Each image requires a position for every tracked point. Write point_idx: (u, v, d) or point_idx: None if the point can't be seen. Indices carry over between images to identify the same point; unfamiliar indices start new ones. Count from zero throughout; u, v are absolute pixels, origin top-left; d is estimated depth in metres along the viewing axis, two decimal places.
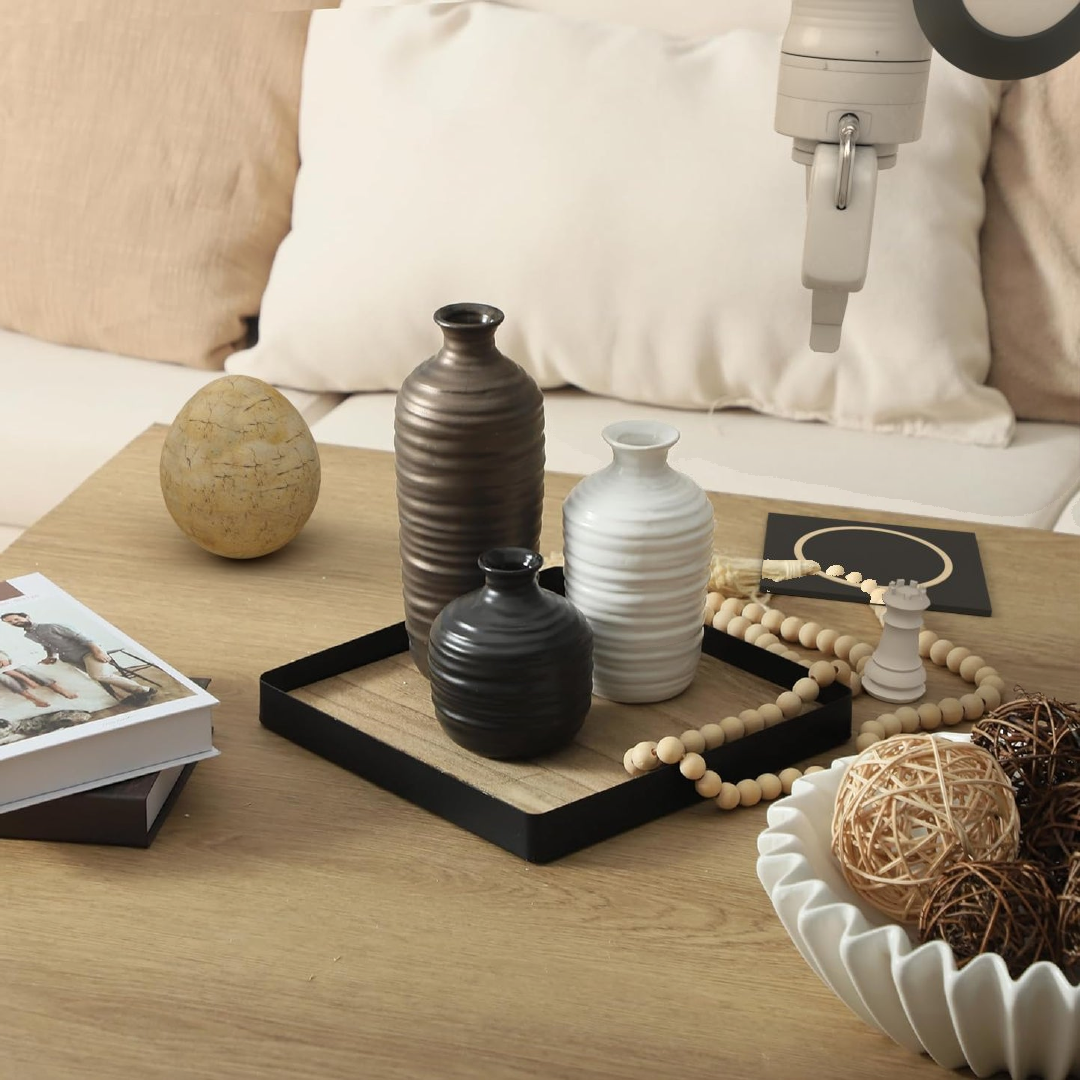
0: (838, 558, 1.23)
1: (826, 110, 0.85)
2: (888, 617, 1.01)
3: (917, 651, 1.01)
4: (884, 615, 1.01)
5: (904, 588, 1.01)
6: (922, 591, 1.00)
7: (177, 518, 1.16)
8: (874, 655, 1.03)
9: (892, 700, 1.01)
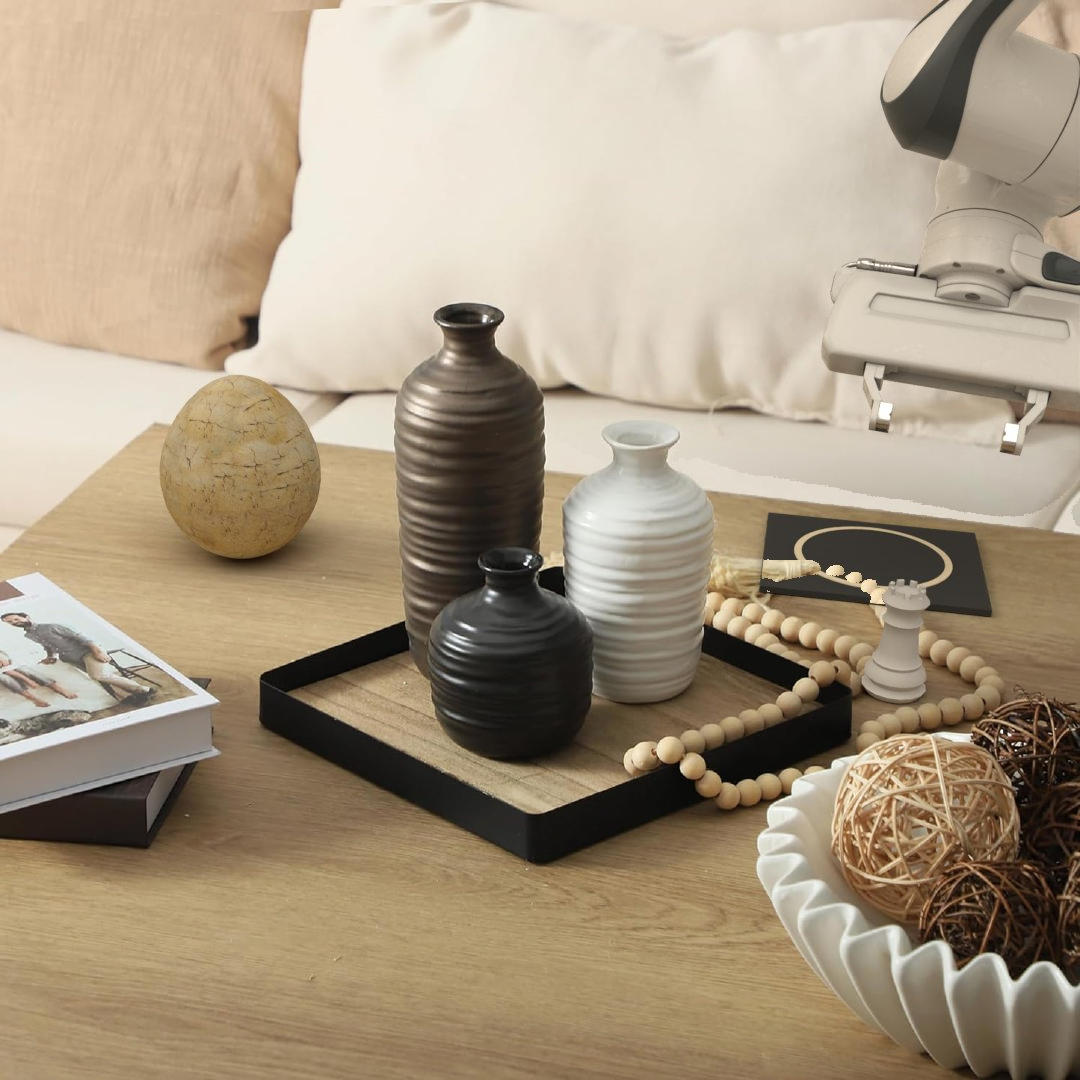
0: (838, 558, 1.23)
1: None
2: (888, 617, 1.01)
3: (917, 651, 1.01)
4: (884, 615, 1.01)
5: (904, 588, 1.01)
6: (922, 591, 1.00)
7: (177, 518, 1.16)
8: (874, 655, 1.03)
9: (892, 700, 1.01)
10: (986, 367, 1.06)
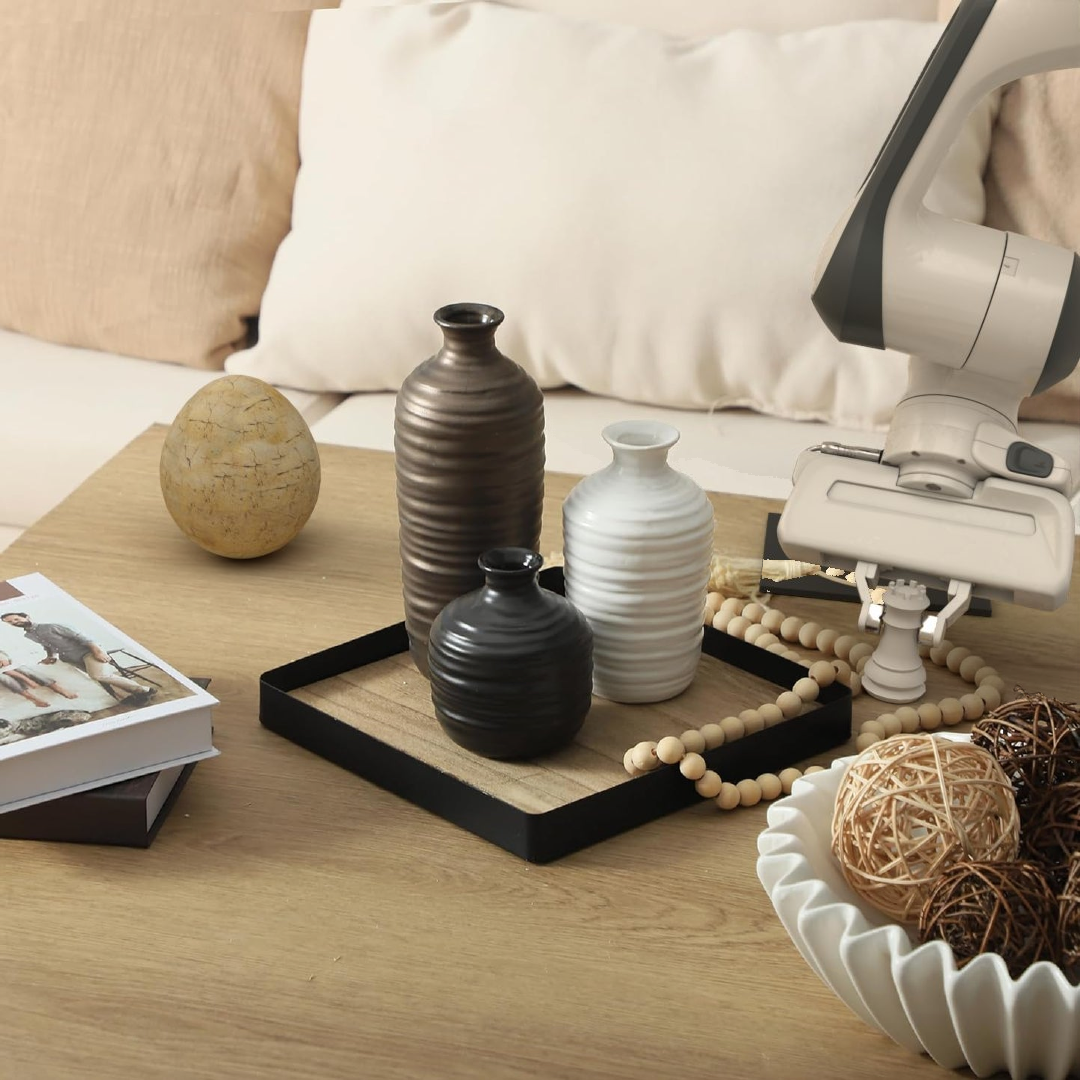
0: None
1: None
2: (888, 617, 1.01)
3: (917, 651, 1.01)
4: (884, 615, 1.01)
5: (904, 588, 1.01)
6: (922, 591, 1.00)
7: (177, 518, 1.16)
8: (874, 655, 1.03)
9: (892, 700, 1.01)
10: (944, 563, 1.01)
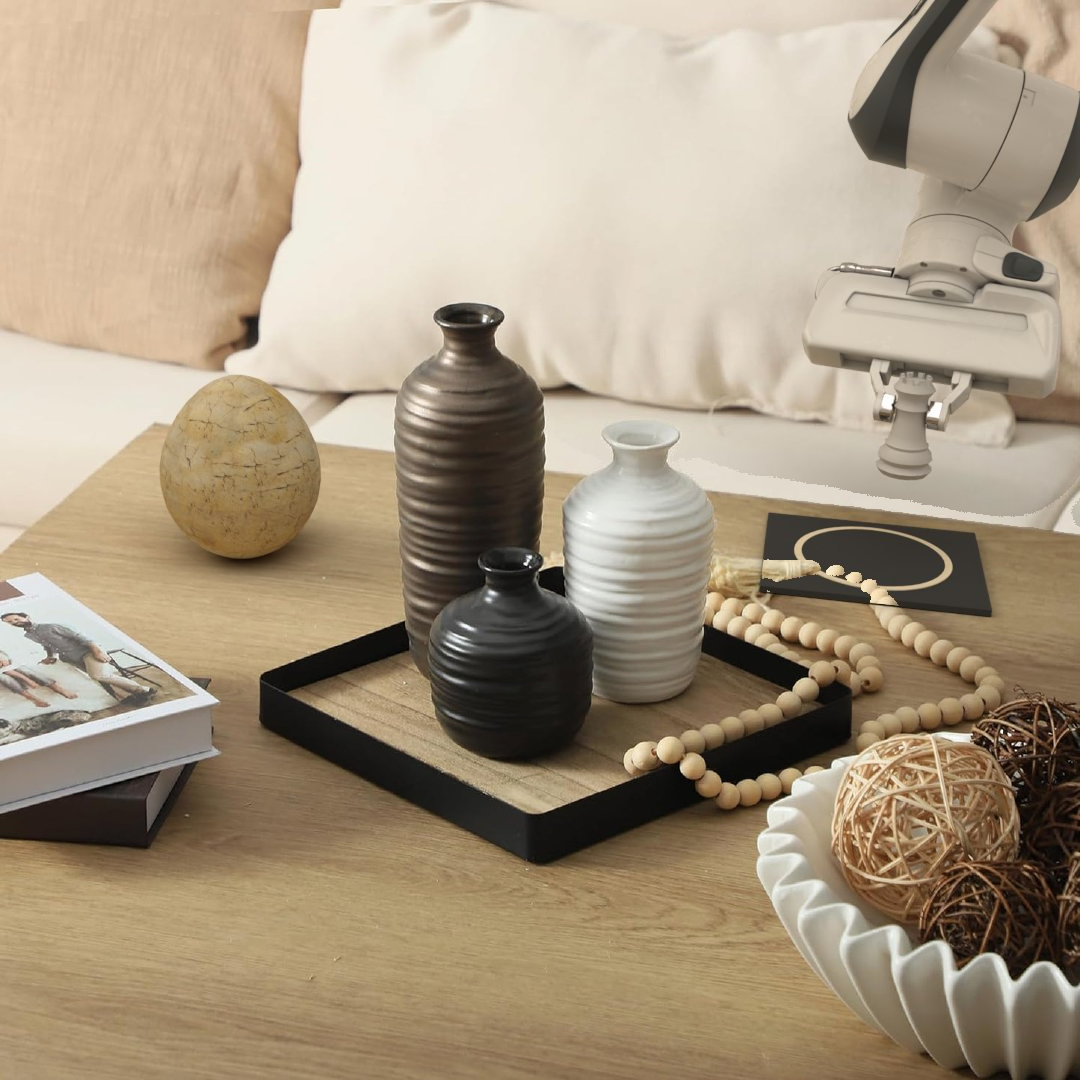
0: (838, 558, 1.23)
1: None
2: (899, 403, 1.16)
3: (924, 434, 1.17)
4: (896, 403, 1.17)
5: (913, 378, 1.16)
6: (929, 379, 1.15)
7: (177, 518, 1.16)
8: (887, 440, 1.18)
9: (902, 477, 1.17)
10: (948, 356, 1.16)
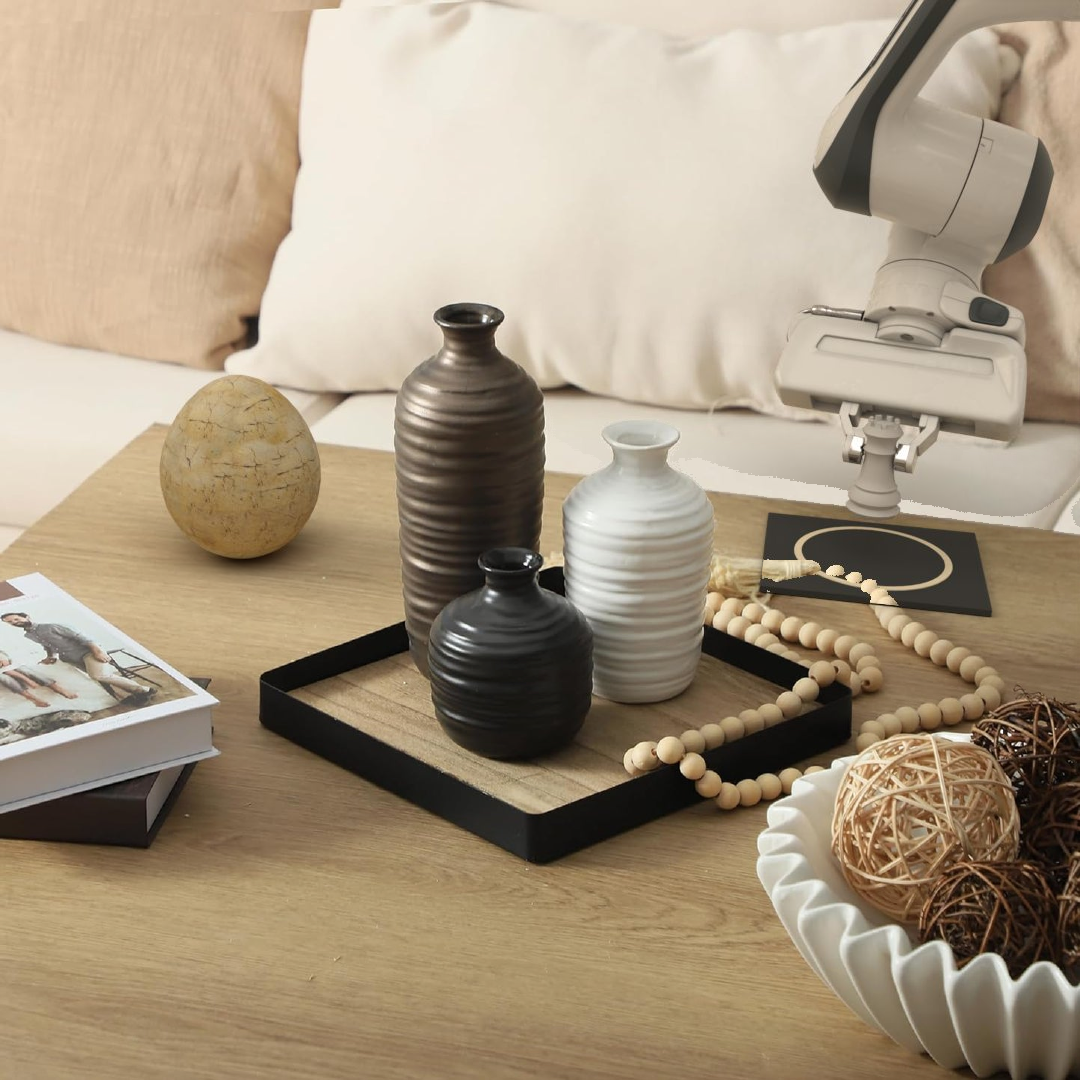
0: (838, 558, 1.23)
1: None
2: (868, 446, 1.18)
3: (893, 476, 1.19)
4: (864, 445, 1.19)
5: (881, 421, 1.18)
6: (896, 422, 1.17)
7: (177, 518, 1.16)
8: (856, 481, 1.20)
9: (871, 518, 1.19)
10: (916, 400, 1.18)
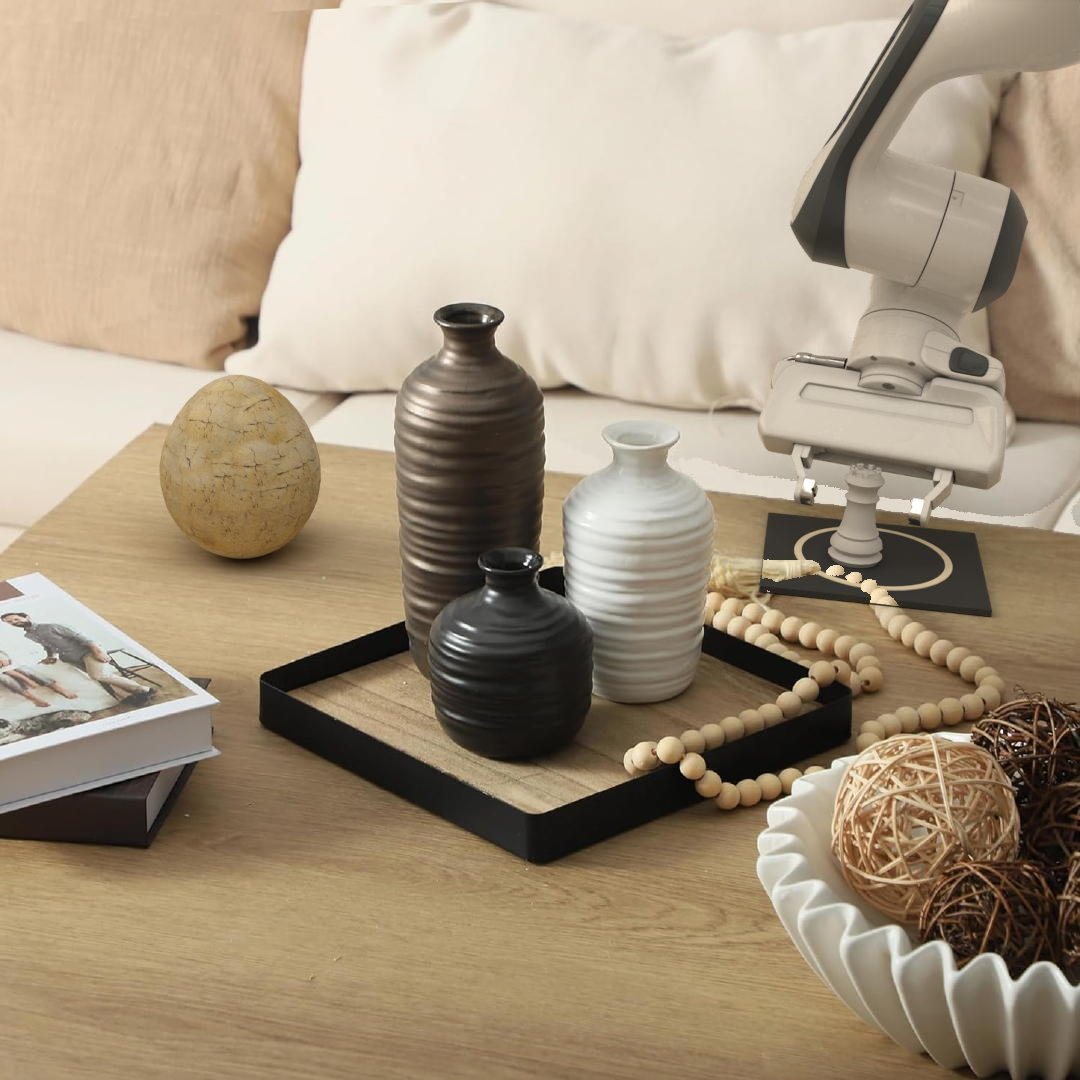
0: None
1: None
2: (849, 495, 1.20)
3: (874, 524, 1.21)
4: (846, 494, 1.20)
5: (863, 470, 1.20)
6: (878, 472, 1.19)
7: (177, 518, 1.16)
8: (838, 528, 1.22)
9: (853, 565, 1.21)
10: (897, 448, 1.20)
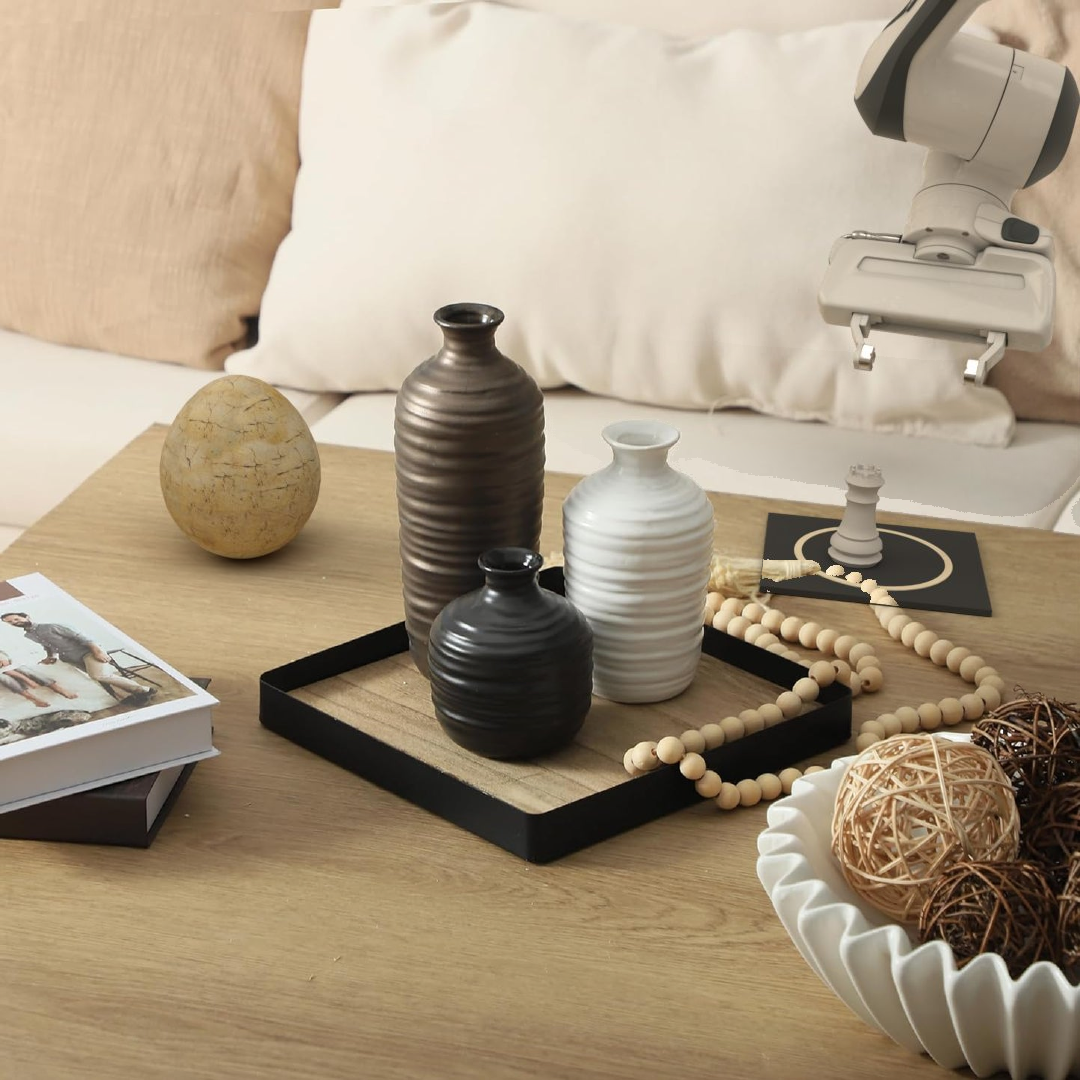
0: None
1: None
2: (849, 495, 1.20)
3: (874, 524, 1.21)
4: (846, 494, 1.20)
5: (863, 470, 1.20)
6: (878, 472, 1.19)
7: (177, 518, 1.16)
8: (838, 528, 1.22)
9: (853, 565, 1.21)
10: (952, 313, 1.26)
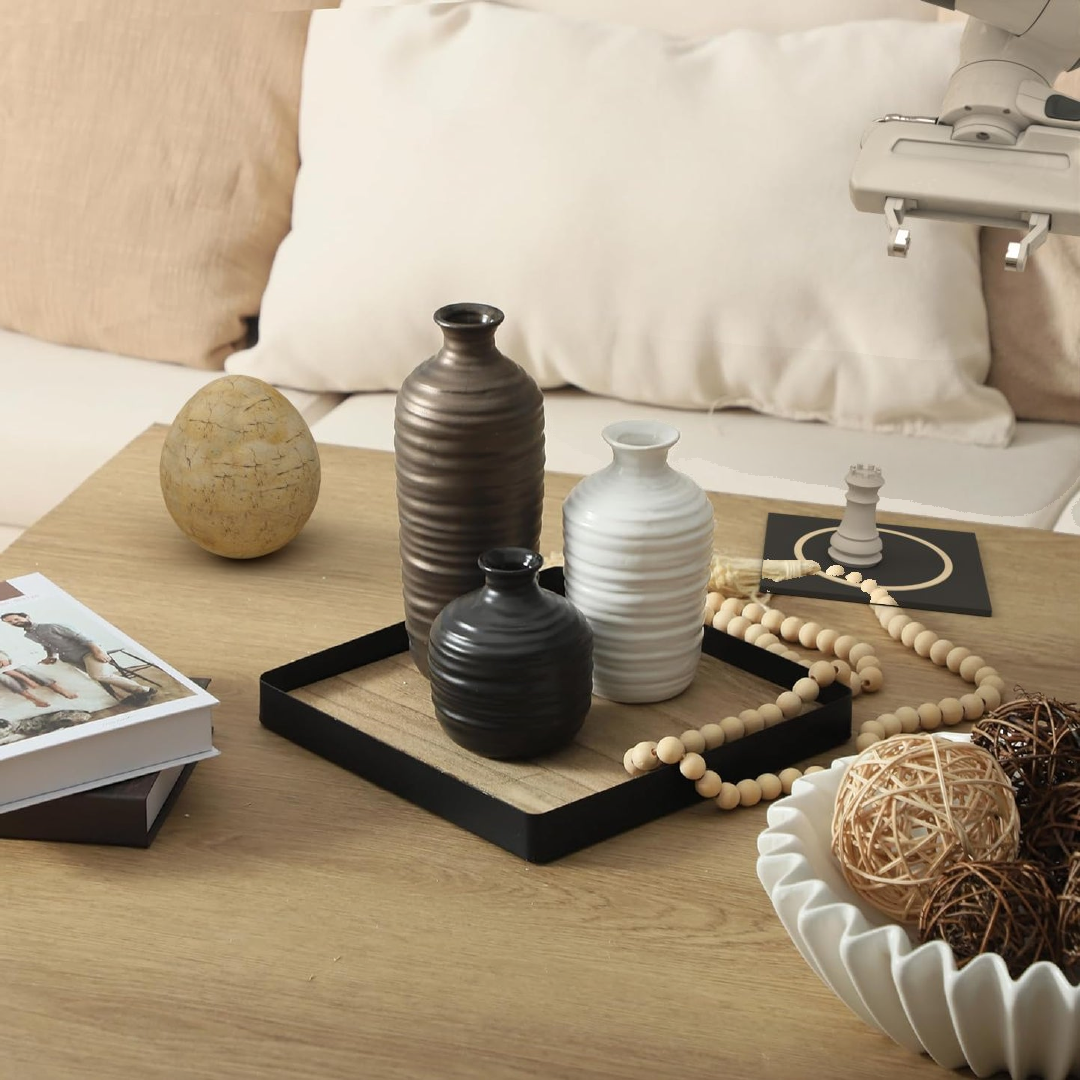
0: None
1: None
2: (849, 495, 1.20)
3: (874, 524, 1.21)
4: (846, 494, 1.20)
5: (863, 470, 1.20)
6: (878, 472, 1.19)
7: (177, 518, 1.16)
8: (838, 528, 1.22)
9: (853, 565, 1.21)
10: (992, 195, 1.19)
